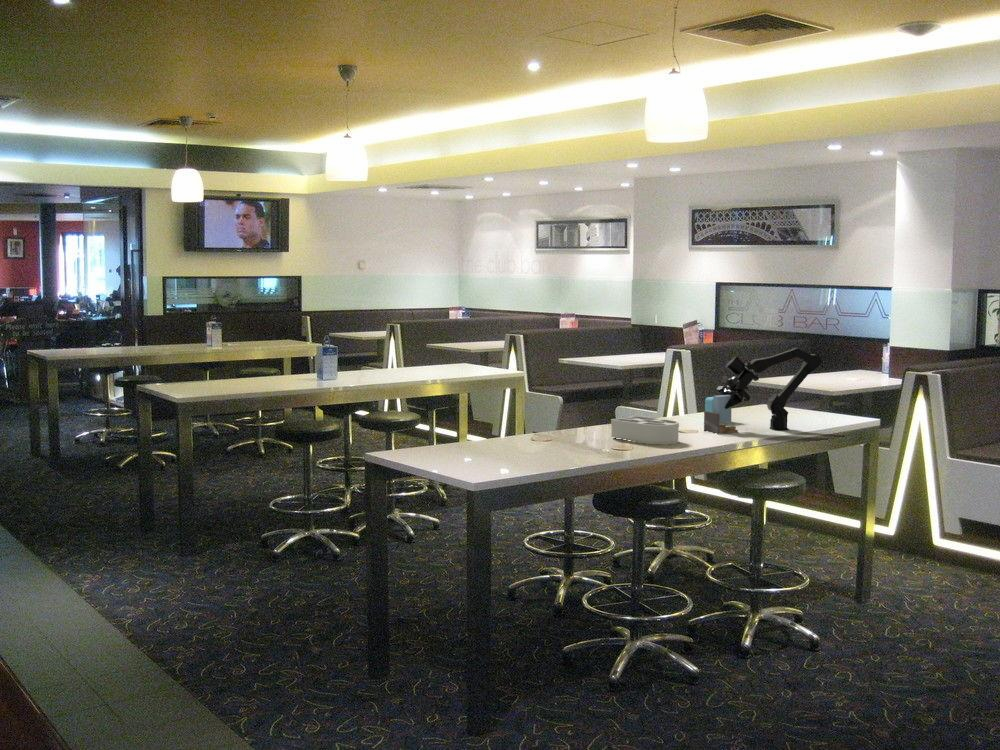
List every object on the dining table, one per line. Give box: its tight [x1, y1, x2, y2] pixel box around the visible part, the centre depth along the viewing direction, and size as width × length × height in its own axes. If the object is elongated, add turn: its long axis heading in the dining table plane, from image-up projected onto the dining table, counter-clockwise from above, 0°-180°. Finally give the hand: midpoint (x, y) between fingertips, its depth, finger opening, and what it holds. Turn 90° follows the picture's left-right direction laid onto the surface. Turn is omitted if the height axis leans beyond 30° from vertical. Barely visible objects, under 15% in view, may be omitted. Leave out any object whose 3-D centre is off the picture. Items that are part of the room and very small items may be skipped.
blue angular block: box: [712, 394, 732, 425], centre depth 452 cm, size 7×4×12 cm, turn 114°
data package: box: [704, 396, 713, 412], centre depth 482 cm, size 12×4×12 cm, turn 125°
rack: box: [703, 410, 739, 435], centre depth 452 cm, size 11×10×9 cm
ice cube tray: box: [610, 415, 680, 445], centre depth 430 cm, size 17×28×9 cm, turn 42°
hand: (722, 407), depth 452 cm, fingers closed on blue angular block, 4 cm apart
